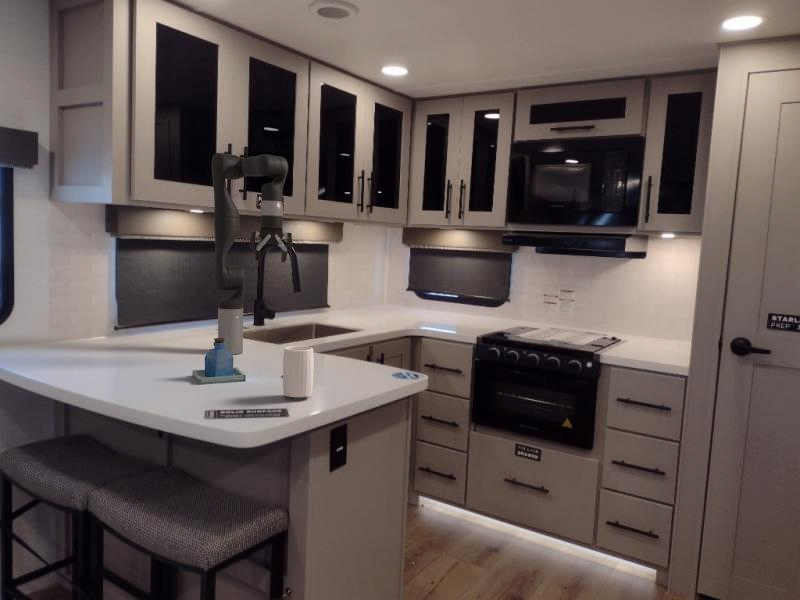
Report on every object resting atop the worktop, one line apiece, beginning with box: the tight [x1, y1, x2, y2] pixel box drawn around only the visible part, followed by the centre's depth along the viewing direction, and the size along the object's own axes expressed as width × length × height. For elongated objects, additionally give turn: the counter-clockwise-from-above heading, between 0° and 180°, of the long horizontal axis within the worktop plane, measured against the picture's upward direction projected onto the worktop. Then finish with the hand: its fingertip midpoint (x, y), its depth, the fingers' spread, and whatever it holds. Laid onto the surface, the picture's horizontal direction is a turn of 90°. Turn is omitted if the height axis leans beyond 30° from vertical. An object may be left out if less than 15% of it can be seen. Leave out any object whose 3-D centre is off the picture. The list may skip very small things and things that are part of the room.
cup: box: [282, 345, 315, 398], centre depth 167 cm, size 8×8×14 cm
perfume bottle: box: [204, 337, 234, 377], centre depth 187 cm, size 6×6×12 cm
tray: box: [191, 367, 247, 386], centre depth 187 cm, size 12×14×2 cm
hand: (270, 262), depth 206 cm, fingers open, 8 cm apart
